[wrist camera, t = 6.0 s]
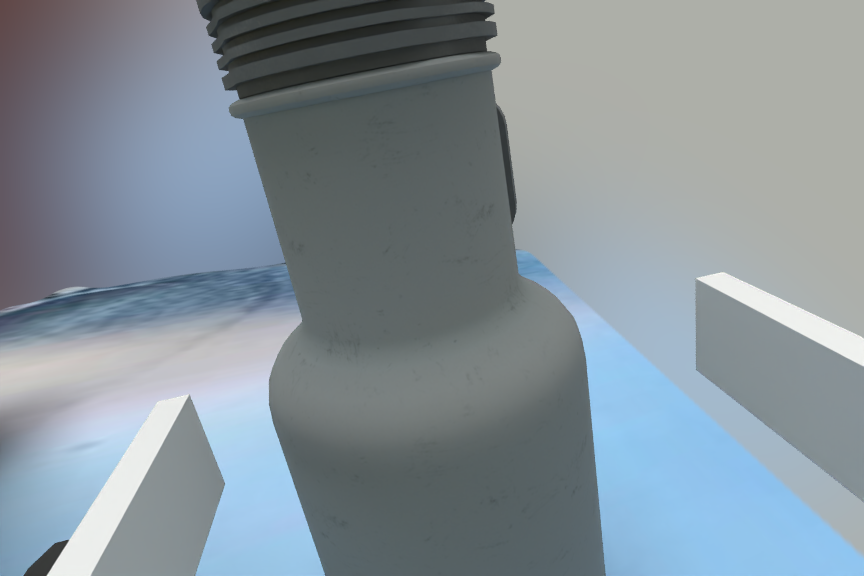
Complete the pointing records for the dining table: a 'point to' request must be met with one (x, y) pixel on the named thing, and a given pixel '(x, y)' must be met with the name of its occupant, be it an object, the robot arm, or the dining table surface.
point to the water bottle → (410, 296)
